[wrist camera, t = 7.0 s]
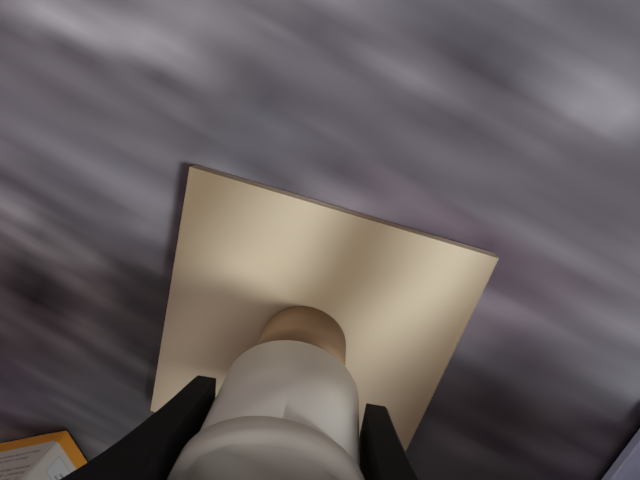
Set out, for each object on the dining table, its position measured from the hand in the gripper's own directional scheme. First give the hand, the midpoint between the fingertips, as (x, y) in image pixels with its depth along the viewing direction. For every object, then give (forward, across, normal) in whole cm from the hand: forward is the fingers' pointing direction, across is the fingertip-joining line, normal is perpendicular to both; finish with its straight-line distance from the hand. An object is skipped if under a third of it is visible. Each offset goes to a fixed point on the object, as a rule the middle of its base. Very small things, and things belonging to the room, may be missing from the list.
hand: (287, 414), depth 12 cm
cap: (+1, 0, 0) cm, 1 cm away
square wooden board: (+5, 0, 0) cm, 5 cm away
